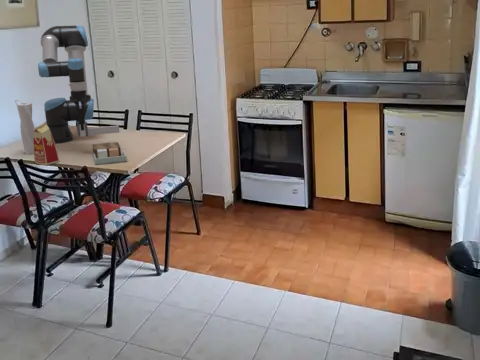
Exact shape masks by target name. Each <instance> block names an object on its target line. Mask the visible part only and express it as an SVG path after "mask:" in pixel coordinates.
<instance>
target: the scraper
mask: <svg viewBox="0 0 480 360" xmlns="http://www.w3.org/2000/svg"><path fill="white" fill-rule="evenodd" d="M84 122H85V132H86V136H82V137H80V128H79V124H78V123H79V121H76V130H77V135H78V136H77V137H78V138H83V137H89V136H95V135H98V136H99V135H107V134H108V135H109V134H117V133H120V126H119V125H118V124H117V125H110V126H99V127H89V128H88V121H87V120H85V121H84Z"/></svg>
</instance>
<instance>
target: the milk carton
mask: <svg viewBox="0 0 480 360" xmlns="http://www.w3.org/2000/svg"><path fill="white" fill-rule="evenodd" d="M34 128H35V131H34V142H33V143H34V153H33V156H34V157H33V159H34V163H35V164H37V165H39V166H49V165H53V164H56V163H60V158H59V154H58V150H57V149H58V148H57V145H56V143H55V142H54V139H53V136H52V134H51V132H50V129H49V127H48V126H47V124H46V121H44V122H43V123H41V124H40V125H38V126H34Z"/></svg>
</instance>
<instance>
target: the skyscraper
mask: <svg viewBox="0 0 480 360" xmlns="http://www.w3.org/2000/svg"><path fill="white" fill-rule="evenodd" d="M14 102H15V104H16V108H17V112H18V116H19V119H20V121H19V122H20V136H21V140H22V146H23V149H24V153H25V155H32V154H33V155H34V143H33V142H34V131H35V124H34V120H33V103H32V102H31V101H22V100H20V99H19V100H18V99H15V100H14ZM17 102H20V103H19V104H18V103H17Z"/></svg>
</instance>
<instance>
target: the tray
mask: <svg viewBox="0 0 480 360" xmlns="http://www.w3.org/2000/svg"><path fill="white" fill-rule="evenodd" d="M92 155H93V161H94V164H95V166H97V165H107V164H109V165H110V164H117V163H126V162H127V163H128V161H127V160H128V159H127V155H126V153H125V150H122V155H121V156H117V157H107V158H96V157H95V154H92Z"/></svg>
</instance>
